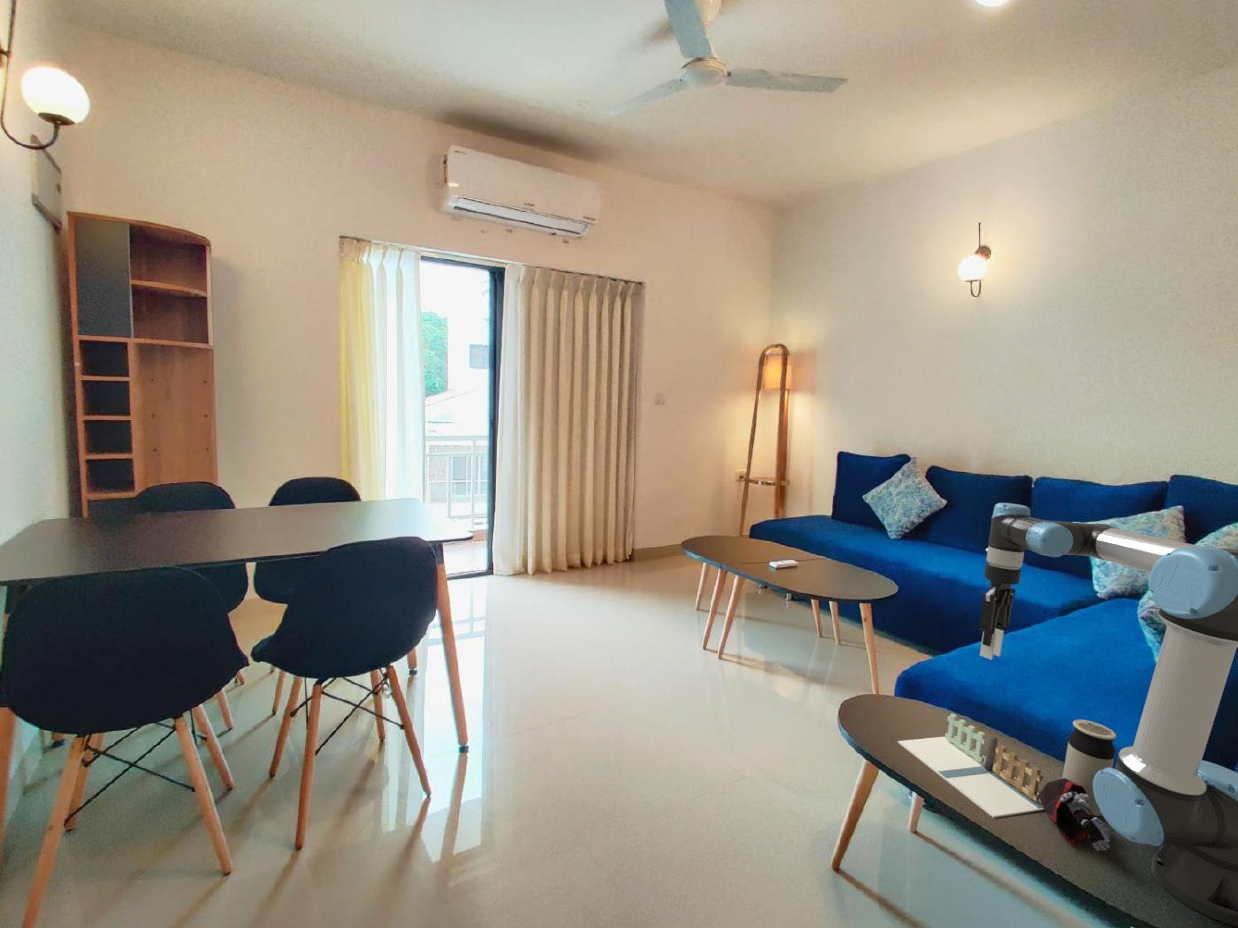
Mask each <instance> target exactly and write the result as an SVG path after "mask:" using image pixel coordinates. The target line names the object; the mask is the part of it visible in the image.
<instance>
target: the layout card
mask: <svg viewBox="0 0 1238 928" xmlns="http://www.w3.org/2000/svg"><path fill="white" fill-rule="evenodd" d="M954 737H955V738H957V735H955V736H954ZM963 743H964V744H965V745H966V741H964V742H963ZM897 744H899V745H900V746H901V747H903V748H904V749H905V750H906V751H908V752H909V753H910V754H912V755H913V756H914V757H916V758H917V759H918V761H920V762H922V763H923V764H924V765H925V766H926V767H929V769H931V771H933V772H934V773H936V774H937V775H938V776H939V777H941V778H942V779H943V780H944V781H945V782H947V783H949V784H950V785H951V786H952V787H953V788H955V789H956V790H957V791H958V792H960V793H961V794H962V795H964V796H965V797H966V799H967V798H968V799H969V800H970V801H971V802H973V803H974V804H975V805H976V806H977V807H979V808H980V809H982V810H983V811H984V812H985V813H986V814H987V815H989V816H990V817H992V818H993V819H995V818H1000V817H1008V816H1015V815H1023V814H1028V813H1036V812H1043V811H1045V810H1044V808H1043V805H1042V803H1041V800H1040V798H1039V801H1035V800H1032V799H1030V798H1029V797H1028V795H1026V794H1025V793H1023V792H1020V791H1019V790H1017V789H1016V787H1015V786H1013V785H1012V784H1009V783H1008V782H1006V781H1005V779H1003V778H1002V777H1001V776H1000V777H999V776H998V775H996V774H995V772H993V771H988V770H986V769H985V768H984V765H985V758H986V755H983V754H982V756H983V757H984V762H983V763H981V762H978V761H976V760H975V759H974V758H973V757H972V756H971V755H968V754H966V753H965V751H964V750H962V749H961V748H960V749H959V748H958V747H957V746H956V745H955V744H954V743H952V742H949V741H948V740H947V739H946V738H945V736H936V737H927V738H925V737H924V738H917V739H907V740H898V741H897ZM975 749H976V748H973V750H974V751H975ZM994 766H996V763H995V762H994ZM1003 771H1005V772H1006V773H1007V770H1005V769H1004V770H1003ZM1014 778H1015V779H1016V780H1018V777H1016V776H1014ZM1025 786H1026V787H1028V788H1029V786H1028V784H1026V785H1025ZM1039 793H1040V792H1037V794H1038V795H1039Z"/></svg>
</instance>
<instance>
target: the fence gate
mask: <svg viewBox="0 0 1238 928" xmlns="http://www.w3.org/2000/svg"><path fill="white" fill-rule="evenodd" d="M947 722H949V723H948V729H947V732H945V733H944V737H945V738H946V739H947V740H948V741H949V742H952V743H954V744H955V745H956V746H957V747H958V748H959V749H960V748H961V749H962V750H964V751H965V753H966V754H968V755H971V756H972V757H973V758H974V759H975V760H976V761H978V762H981V763H983V762H984V757H983V756H984V755H983V753H984V746H986V745H988V739H987V738H986V734H985V732H983V731H978V732H976V730H977V728H976V727H975V726H973V725H968V726H967V721H965V720H964V719H958V716H957V715H956V714H955V713H950V715H948V716H947ZM956 728H957V733H956ZM965 734H966V739H965ZM954 736H956V737H957V738H955V737H954ZM975 740H976V743H975V748H974V742H975ZM963 742H965V743H966V745H965V744H964V743H963ZM973 749H975V751H974V750H973ZM982 755H983V756H982Z"/></svg>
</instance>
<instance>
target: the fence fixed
mask: <svg viewBox="0 0 1238 928" xmlns="http://www.w3.org/2000/svg"><path fill="white" fill-rule="evenodd" d="M998 739H999V738H997V736H995V735H991V734H990V735H988V739H987V744H986V745H987V746H986V754H985V757H986V758H985V765H984V768H985V769H986V770H988V771H993V772H995V774H996V775H998V776H999V777H1000V776H1001V777H1002V778H1003V779H1005V781H1006V782H1008V783H1009V784H1012V785H1013V786H1015V787H1016V789H1017V790H1019V791H1020V792H1023V793H1025V794H1026V795H1028V797H1029V798H1030V799H1032V800H1035V801H1039V795H1038V794H1037V793H1038V789H1039V785H1040V782H1043V778H1044V776H1043V775H1042V774H1041V772H1042V771H1041V769H1040V768H1038V767H1037V766H1032V767H1030V766H1029V765H1030V762H1029V761H1028V760H1027V759H1025V758H1023V759H1020V760H1019V759H1018V757H1019V756H1018V754H1017V753H1015V752H1014V751H1009V753H1008V752H1007V751H1008V750H1007V749H1008V748H1007V747H1006V746H1005V745H1003V744H1000V745H998ZM997 745H998V747H997ZM996 755H997V756H996ZM995 759H996V763H995ZM1005 761H1007V766H1006V767H1007V768H1006V770H1005ZM994 763H995V764H996V766H994ZM1017 768H1018V769H1019V770H1018V775H1017V779H1018V780H1016V779H1015V778H1014V777H1016V776H1015V774H1016V770H1017ZM1003 770H1005V771H1007V773H1006V772H1005V771H1003ZM1028 775H1029V776H1030V779H1029V788H1028V787H1026V786H1025V785H1027V784H1026V783H1027V779H1028V778H1027V777H1028Z"/></svg>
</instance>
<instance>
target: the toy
mask: <svg viewBox="0 0 1238 928" xmlns="http://www.w3.org/2000/svg"><path fill="white" fill-rule="evenodd" d="M1038 793H1039V798H1040V800H1041V803H1042V805H1043V808H1044V810H1043V811H1044V812H1045V813H1046V814H1047V815H1048V816H1049V819H1050V820H1051V821H1053V822H1054V824H1055V825H1056V828H1057V829H1058V831H1059V833H1060V834H1061V836H1062V837H1063V838H1064V839H1065V840H1066V842H1067V843H1069V844H1070V846H1071V847H1073V848H1075V849H1076V847H1077V846H1078V843H1079V842H1080V841H1081V840H1083V841H1085V838H1087V837H1088V838H1089V842H1090V844H1091V846H1092V848H1094V849H1095V850H1096V851H1097V852H1100V851H1103V852H1104V851H1106V850H1107V849H1109V848H1111V846H1110V844H1109V843H1110V842H1111V839H1110V837H1111V835H1110V831H1109V828H1106V827H1105V826H1103V825H1104V822H1103V820H1101V819H1099V818H1098V817H1097V816H1095V815H1089V814H1088V813H1089V812H1090V813H1091V810H1090V808H1089V806H1088V800H1089V796H1088V795H1086V791H1085V790H1084V788H1083V787H1082V786H1080V785H1078V784H1076V783H1074V782H1072V781H1070V780H1068V779H1066V778H1063V779H1062V778H1059V779H1056V780H1051V781H1048V782H1046V783H1045V784H1044V786H1043V787H1042V789H1041V790H1040V792H1038ZM1091 814H1092V813H1091Z"/></svg>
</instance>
